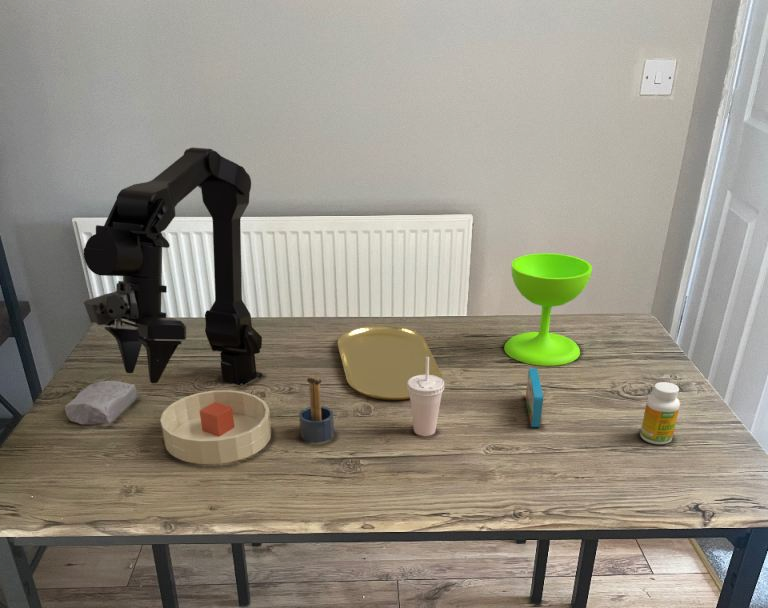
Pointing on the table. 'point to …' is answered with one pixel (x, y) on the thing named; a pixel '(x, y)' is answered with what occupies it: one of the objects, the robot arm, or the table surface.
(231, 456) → the bowl
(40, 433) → the table surface
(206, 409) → the block
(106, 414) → the stone block
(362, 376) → the serving platter
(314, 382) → the chopsticks
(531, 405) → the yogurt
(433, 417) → the smoothie
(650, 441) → the supplement bottle
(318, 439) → the holder
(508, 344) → the wineglass
